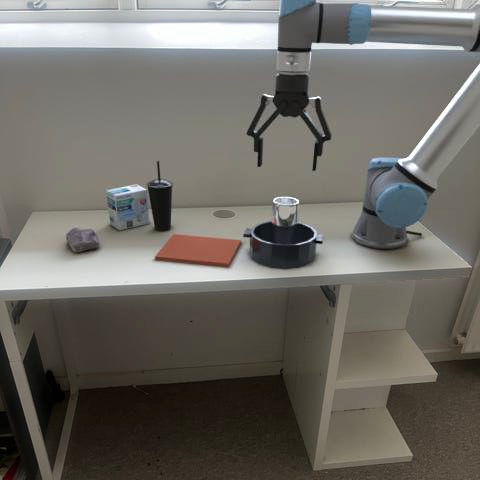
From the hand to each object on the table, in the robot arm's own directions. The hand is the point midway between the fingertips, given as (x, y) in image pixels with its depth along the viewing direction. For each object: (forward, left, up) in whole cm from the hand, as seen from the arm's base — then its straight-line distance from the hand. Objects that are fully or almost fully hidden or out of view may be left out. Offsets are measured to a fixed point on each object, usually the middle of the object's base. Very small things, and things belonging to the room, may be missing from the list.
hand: (286, 167), depth 125 cm
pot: (0, 0, -24) cm, 24 cm away
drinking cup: (+38, -11, -24) cm, 46 cm away
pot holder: (+22, +3, -24) cm, 33 cm away
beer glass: (0, 0, -24) cm, 24 cm away
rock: (+55, +7, -24) cm, 60 cm away
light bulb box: (+49, -12, -24) cm, 56 cm away
